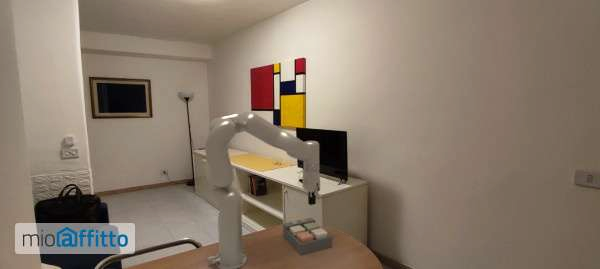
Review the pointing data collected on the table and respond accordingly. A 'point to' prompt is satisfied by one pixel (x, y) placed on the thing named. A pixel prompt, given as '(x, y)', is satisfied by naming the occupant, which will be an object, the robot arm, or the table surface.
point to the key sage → (310, 226)
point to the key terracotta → (304, 237)
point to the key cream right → (319, 233)
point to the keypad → (307, 246)
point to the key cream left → (297, 230)
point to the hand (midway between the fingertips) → (312, 204)
